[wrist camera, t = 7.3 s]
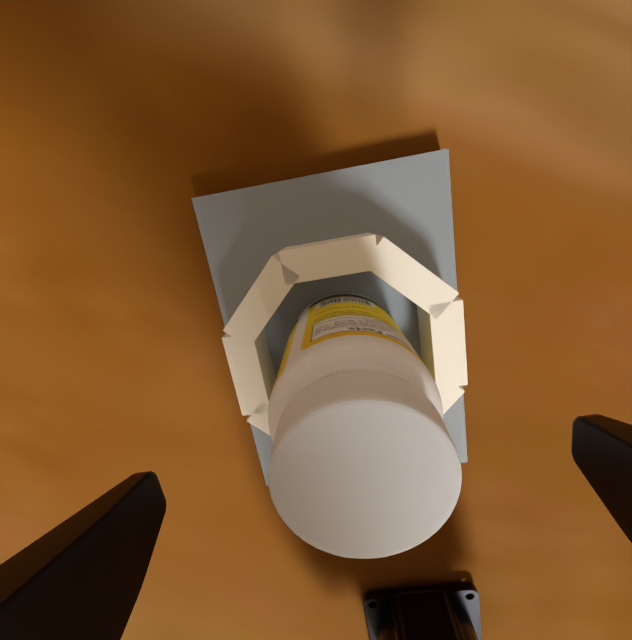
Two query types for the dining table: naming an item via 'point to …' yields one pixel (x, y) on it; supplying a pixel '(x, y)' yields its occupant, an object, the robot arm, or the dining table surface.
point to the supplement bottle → (358, 434)
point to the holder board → (337, 270)
